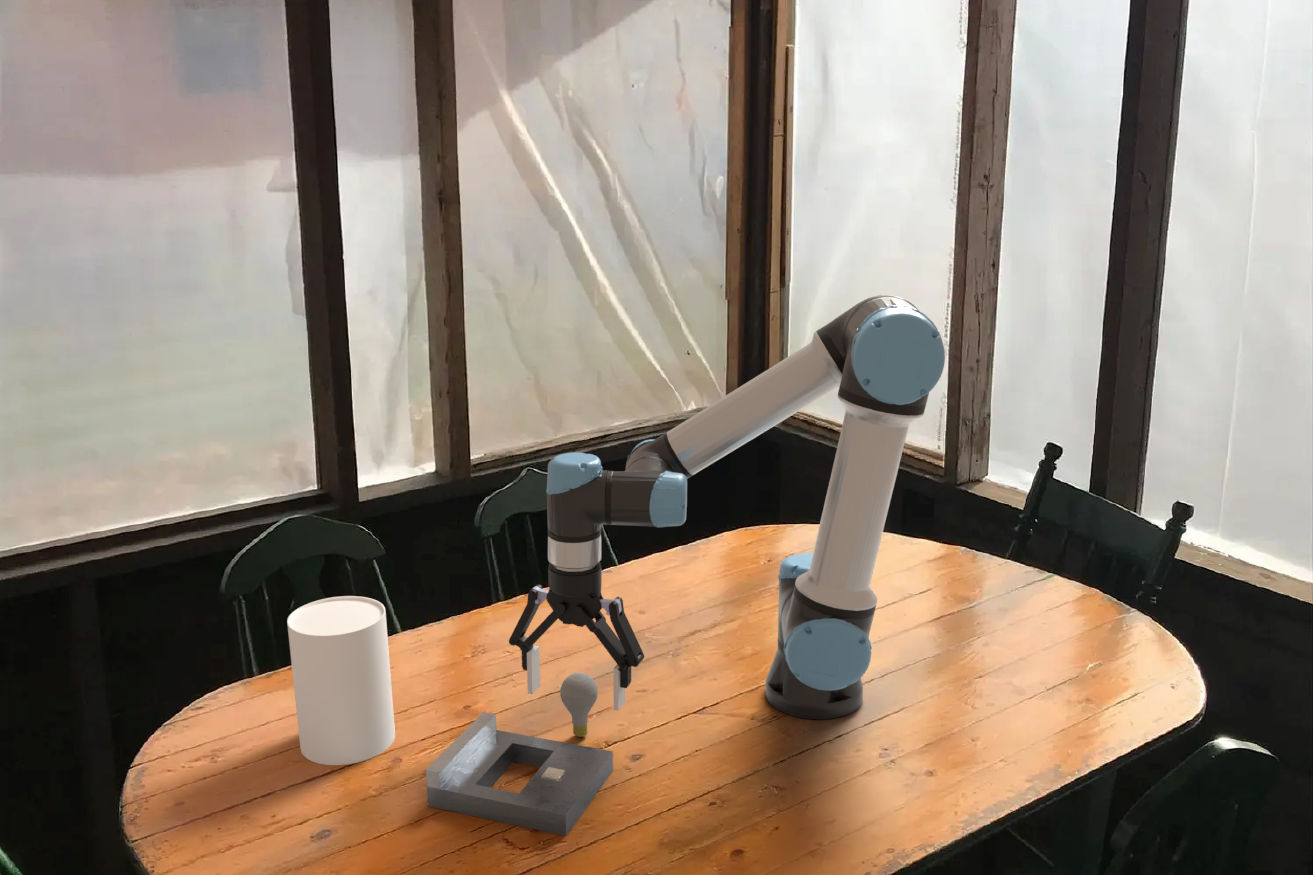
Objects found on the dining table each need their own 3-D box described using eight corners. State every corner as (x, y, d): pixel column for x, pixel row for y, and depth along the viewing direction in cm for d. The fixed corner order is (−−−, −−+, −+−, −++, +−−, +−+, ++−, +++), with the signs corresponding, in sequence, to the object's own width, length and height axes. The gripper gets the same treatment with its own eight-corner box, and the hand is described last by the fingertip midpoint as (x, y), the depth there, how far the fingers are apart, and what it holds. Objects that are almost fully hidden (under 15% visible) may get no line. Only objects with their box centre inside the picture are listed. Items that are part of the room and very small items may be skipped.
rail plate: (613, 770, 160) (612, 735, 158) (566, 835, 145) (565, 797, 144) (485, 745, 166) (483, 712, 165) (428, 806, 152) (425, 769, 150)
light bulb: (561, 727, 171) (559, 667, 168) (598, 725, 171) (596, 665, 169) (561, 746, 166) (559, 684, 163) (599, 744, 166) (597, 682, 164)
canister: (295, 728, 172) (282, 605, 166) (386, 709, 177) (376, 590, 171) (306, 773, 160) (292, 642, 154) (403, 752, 165) (393, 625, 159)
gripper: (667, 564, 161) (665, 700, 166) (507, 541, 169) (510, 672, 174) (648, 584, 154) (647, 725, 160) (483, 559, 162) (487, 694, 168)
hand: (576, 697), depth 167 cm, fingers open, 13 cm apart
